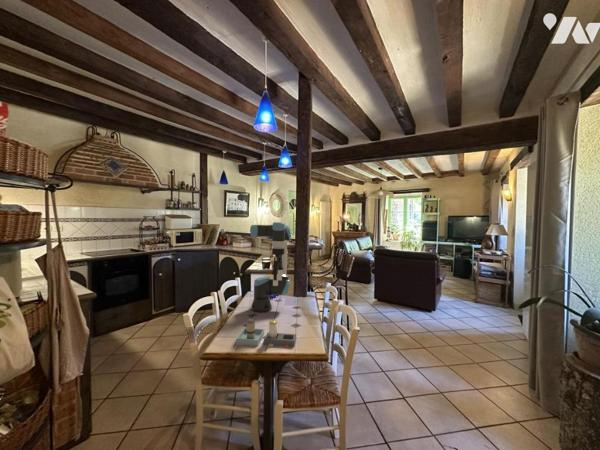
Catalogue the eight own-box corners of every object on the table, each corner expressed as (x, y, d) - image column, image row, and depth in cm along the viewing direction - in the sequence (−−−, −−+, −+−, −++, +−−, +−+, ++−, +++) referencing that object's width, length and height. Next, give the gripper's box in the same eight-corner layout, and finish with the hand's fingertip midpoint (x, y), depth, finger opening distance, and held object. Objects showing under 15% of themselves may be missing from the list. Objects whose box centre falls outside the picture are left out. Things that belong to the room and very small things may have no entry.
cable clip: (270, 300, 214) (271, 292, 213) (266, 299, 216) (267, 292, 216) (280, 296, 223) (280, 289, 223) (276, 295, 226) (276, 289, 226)
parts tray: (244, 333, 150) (244, 327, 150) (264, 334, 149) (264, 329, 149) (235, 344, 136) (235, 338, 136) (257, 345, 135) (258, 340, 135)
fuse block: (267, 337, 145) (267, 332, 145) (296, 339, 143) (296, 334, 143) (263, 345, 135) (263, 340, 135) (294, 347, 134) (294, 342, 134)
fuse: (269, 337, 143) (270, 319, 142) (277, 338, 142) (277, 320, 142) (268, 341, 138) (268, 322, 138) (276, 341, 138) (276, 323, 138)
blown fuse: (247, 336, 145) (248, 318, 145) (255, 336, 145) (256, 319, 144) (245, 339, 140) (245, 321, 140) (253, 340, 140) (253, 322, 140)
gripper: (276, 245, 167) (275, 277, 168) (267, 249, 142) (266, 287, 143) (287, 246, 166) (286, 278, 167) (280, 250, 142) (280, 288, 142)
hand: (277, 282), depth 155 cm, fingers open, 13 cm apart
